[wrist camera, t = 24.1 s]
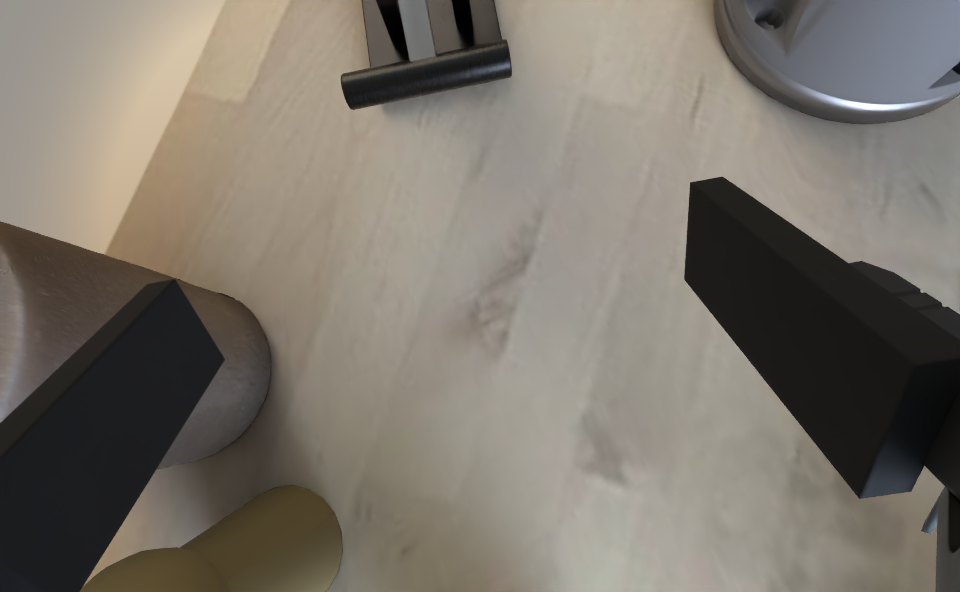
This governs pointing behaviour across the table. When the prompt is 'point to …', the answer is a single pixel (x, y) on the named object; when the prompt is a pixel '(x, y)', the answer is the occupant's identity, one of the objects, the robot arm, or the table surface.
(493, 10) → the lever bracket
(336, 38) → the table surface
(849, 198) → the table surface
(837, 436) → the robot arm
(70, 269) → the pillar candle
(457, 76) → the lever
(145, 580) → the olive pawn
